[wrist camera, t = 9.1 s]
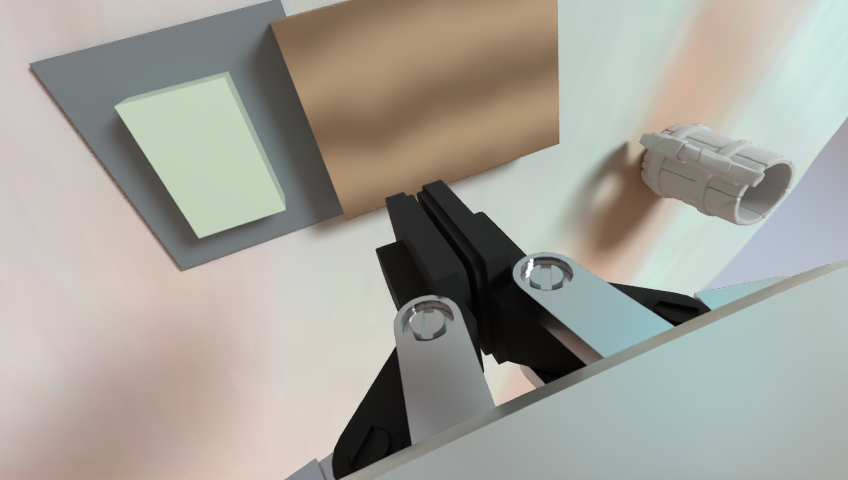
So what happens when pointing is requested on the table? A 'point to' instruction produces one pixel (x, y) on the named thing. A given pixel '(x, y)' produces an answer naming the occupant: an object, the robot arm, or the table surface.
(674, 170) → the mug
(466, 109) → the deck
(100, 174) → the table surface
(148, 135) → the tile
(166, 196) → the mat
